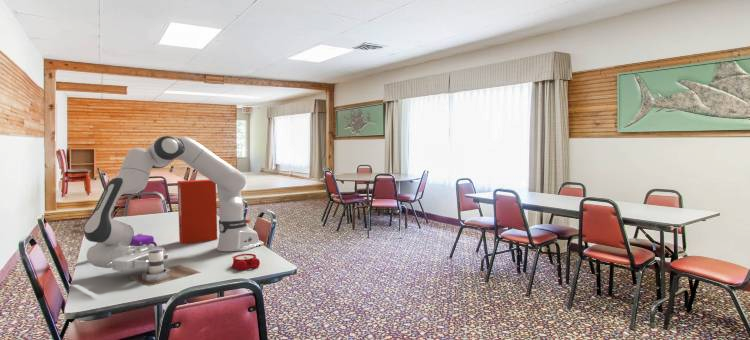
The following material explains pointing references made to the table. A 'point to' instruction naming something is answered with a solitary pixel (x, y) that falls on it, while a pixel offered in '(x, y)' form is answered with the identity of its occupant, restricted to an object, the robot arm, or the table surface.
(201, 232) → the file binder
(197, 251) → the table surface
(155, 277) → the ring
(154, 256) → the white lens
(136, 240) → the toy camera
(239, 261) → the alarm clock
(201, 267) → the table surface
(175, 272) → the walnut mount plate
